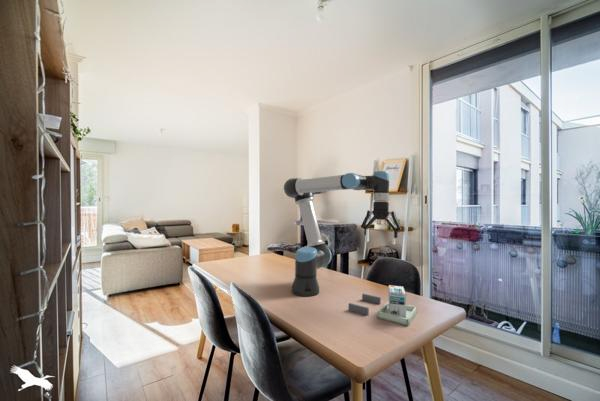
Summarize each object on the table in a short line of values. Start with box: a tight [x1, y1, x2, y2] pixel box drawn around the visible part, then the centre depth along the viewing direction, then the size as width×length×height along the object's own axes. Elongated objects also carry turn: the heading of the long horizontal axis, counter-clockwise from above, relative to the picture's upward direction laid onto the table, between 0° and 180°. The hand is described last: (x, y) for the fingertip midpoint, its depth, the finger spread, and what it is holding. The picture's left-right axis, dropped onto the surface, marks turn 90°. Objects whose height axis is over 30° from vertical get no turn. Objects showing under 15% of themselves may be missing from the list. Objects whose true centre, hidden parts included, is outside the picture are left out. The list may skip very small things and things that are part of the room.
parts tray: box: [376, 300, 418, 327], centre depth 118 cm, size 13×17×2 cm
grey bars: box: [348, 293, 382, 316], centre depth 127 cm, size 9×17×3 cm, turn 145°
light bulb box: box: [388, 284, 407, 318], centre depth 118 cm, size 11×7×11 cm, turn 165°
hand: (380, 243), depth 137 cm, fingers open, 13 cm apart
